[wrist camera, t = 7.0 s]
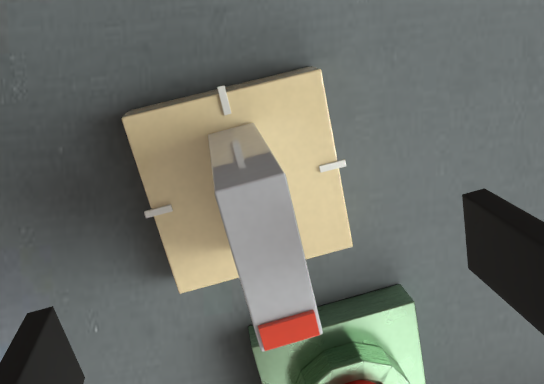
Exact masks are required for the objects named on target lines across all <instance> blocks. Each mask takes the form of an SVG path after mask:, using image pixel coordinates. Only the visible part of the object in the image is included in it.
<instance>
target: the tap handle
mask: <svg viewBox="0 0 544 384" xmlns="http://www.w3.org/2000/svg"><path fill="white" fill-rule="evenodd" d="M208 144H209V153H210V161H211V169H212V178H213V186H214V194H215V197H216V201H217V204H218V207H219V211H220V214H221V218H222V221H223V224H224V228H225V231H226V235H227V238H228V241H229V245H230V248H231V252H232V255H233V258H234V262H235V265H236V269H237V272H238V275H239V279H240V282H241V286H242V289H243V292H244V296H245V299H246V303H247V306H248V309H249V313H250V316H251V320H252V323H253V326H254V330H255V333H256V337H257V340H258V343H259V347H260V350H261V351H262V352H263V351H268V350H271V349H275V348H278V347H281V346H285V345H288V344H291V343H295V342H298V341H302V340H305V339H308V338H312V337H315V336H318V335H321V334H322V333H323V331H322V326H321V322H320V318H319V314H318V310H317V305H316V301H315V297H314V293H313V288H312V284H311V280H310V276H309V271H308V267H307V263H306V259H305V254H304V250H303V246H302V242H301V237H300V233H299V229H298V225H297V221H296V216H295V212H294V208H293V204H292V199H291V195H290V191H289V187H288V182H287V178H286V174H285V172H284V171H283V169H282V168H281V166H280V164H279V163H278V161H277V160H276V158H275V156H274V155H273V153H272V151H271V150H270V148H269V147H268V145H267V143H266V142H265V140H264V138H263V137H262V135H261V134H260V132H259V130H258V129H257V127H256V126H255V124H254V123H249V124H246V125H242V126H238V127H234V128H231V129H227V130H223V131H219V132H215V133H212V134H208Z"/></svg>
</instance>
